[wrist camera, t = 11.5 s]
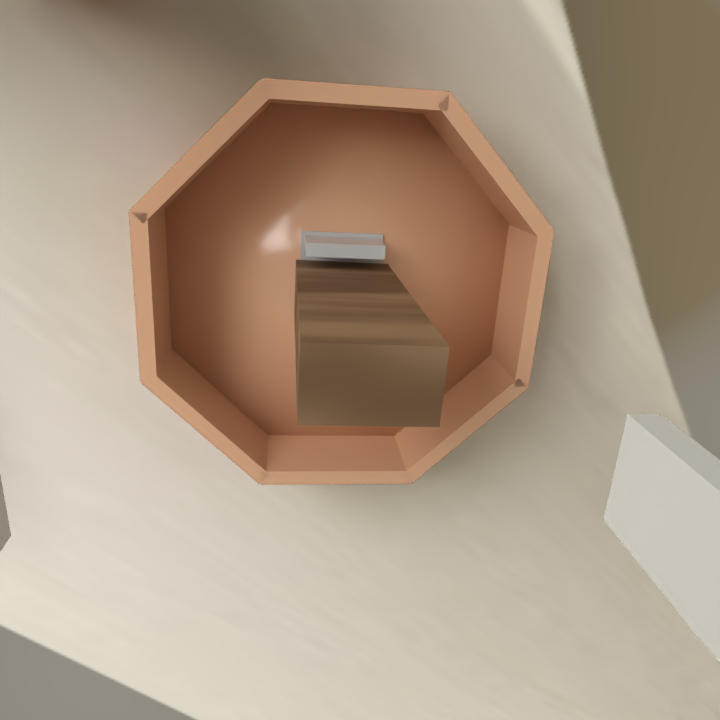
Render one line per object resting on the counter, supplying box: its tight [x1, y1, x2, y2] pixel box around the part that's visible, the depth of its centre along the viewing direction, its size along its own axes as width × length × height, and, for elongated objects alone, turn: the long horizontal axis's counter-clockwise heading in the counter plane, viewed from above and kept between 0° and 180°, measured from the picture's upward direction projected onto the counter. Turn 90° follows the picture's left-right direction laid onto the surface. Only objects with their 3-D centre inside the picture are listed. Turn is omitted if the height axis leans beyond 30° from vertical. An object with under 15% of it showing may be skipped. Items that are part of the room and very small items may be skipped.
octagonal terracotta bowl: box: [129, 78, 554, 485], centre depth 33 cm, size 20×20×5 cm
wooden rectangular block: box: [294, 260, 449, 427], centre depth 27 cm, size 3×5×14 cm, turn 86°
